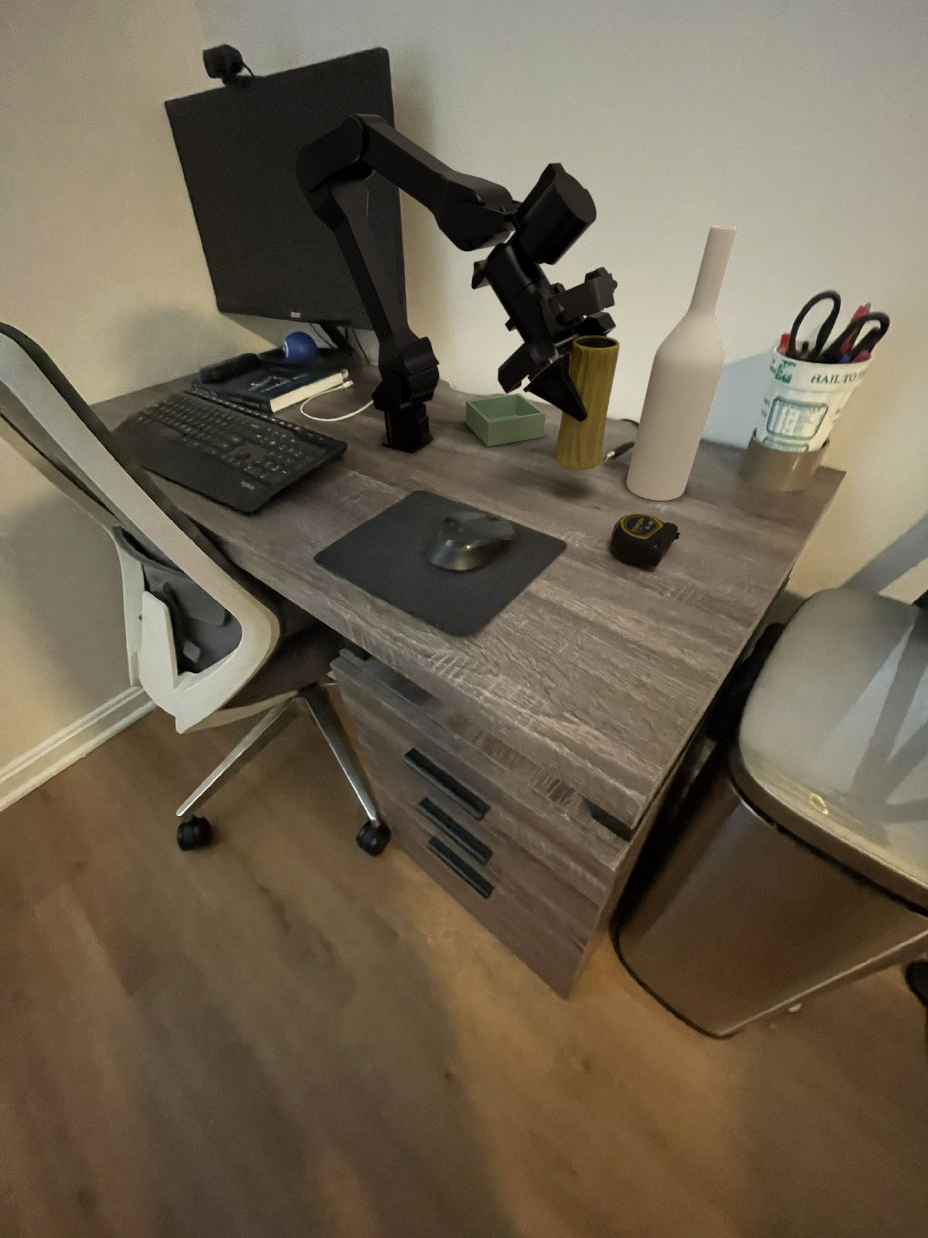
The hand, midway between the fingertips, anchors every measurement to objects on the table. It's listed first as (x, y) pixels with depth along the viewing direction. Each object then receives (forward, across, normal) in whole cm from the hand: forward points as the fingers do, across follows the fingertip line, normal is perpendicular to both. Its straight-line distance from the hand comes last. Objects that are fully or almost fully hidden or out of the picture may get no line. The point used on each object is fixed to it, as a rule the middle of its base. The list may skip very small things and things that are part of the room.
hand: (595, 412), depth 63 cm
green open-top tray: (-7, +14, +25) cm, 29 cm away
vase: (+4, 0, +6) cm, 7 cm away
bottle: (+13, +10, +4) cm, 17 cm away
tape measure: (+17, -6, 0) cm, 18 cm away
